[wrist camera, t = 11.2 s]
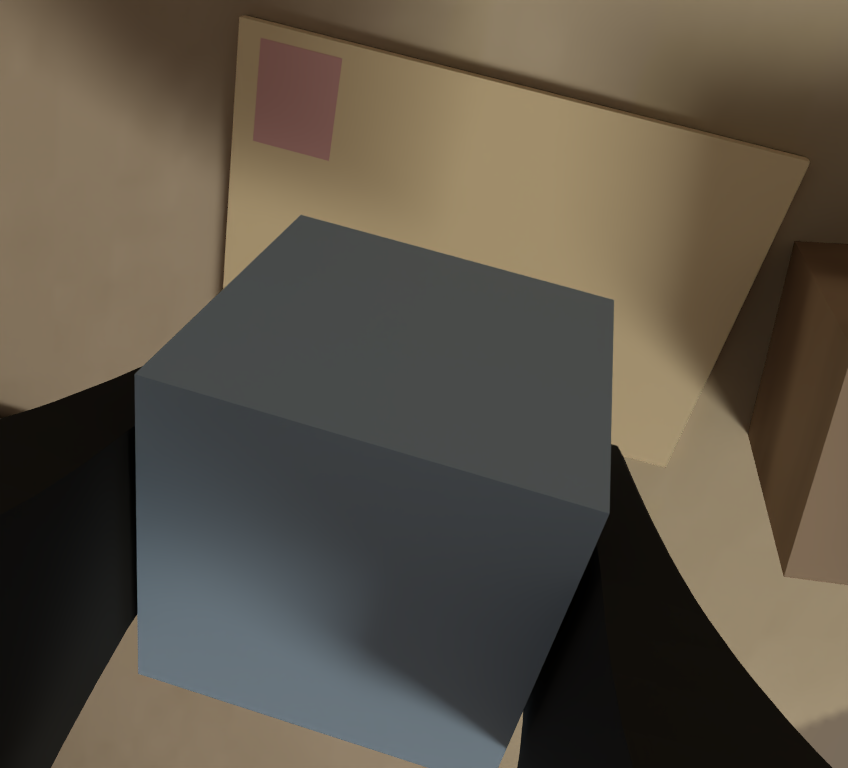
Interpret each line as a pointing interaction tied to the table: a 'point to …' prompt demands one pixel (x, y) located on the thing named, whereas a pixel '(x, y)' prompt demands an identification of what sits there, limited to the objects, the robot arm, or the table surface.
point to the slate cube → (372, 490)
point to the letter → (514, 197)
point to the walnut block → (807, 417)
